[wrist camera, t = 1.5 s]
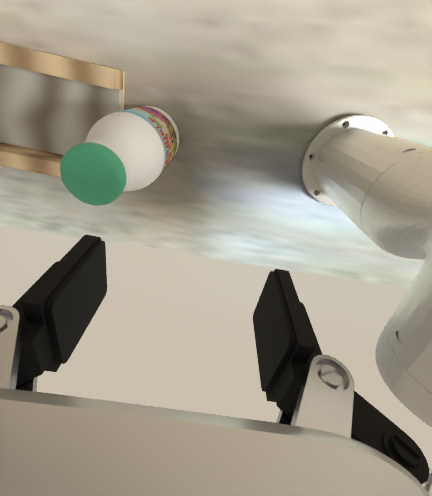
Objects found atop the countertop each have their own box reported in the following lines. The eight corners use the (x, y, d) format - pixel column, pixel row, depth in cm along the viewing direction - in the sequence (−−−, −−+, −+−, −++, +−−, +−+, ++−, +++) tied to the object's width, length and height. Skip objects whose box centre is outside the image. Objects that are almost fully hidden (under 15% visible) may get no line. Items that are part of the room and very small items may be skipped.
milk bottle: (144, 172, 39) (83, 237, 22) (114, 121, 35) (11, 150, 18) (189, 151, 37) (160, 203, 20) (162, 94, 33) (98, 99, 16)
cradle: (124, 70, 32) (112, 68, 28) (124, 179, 39) (114, 187, 36) (-45, 31, 30) (-80, 23, 27) (-13, 152, 37) (-37, 158, 34)
